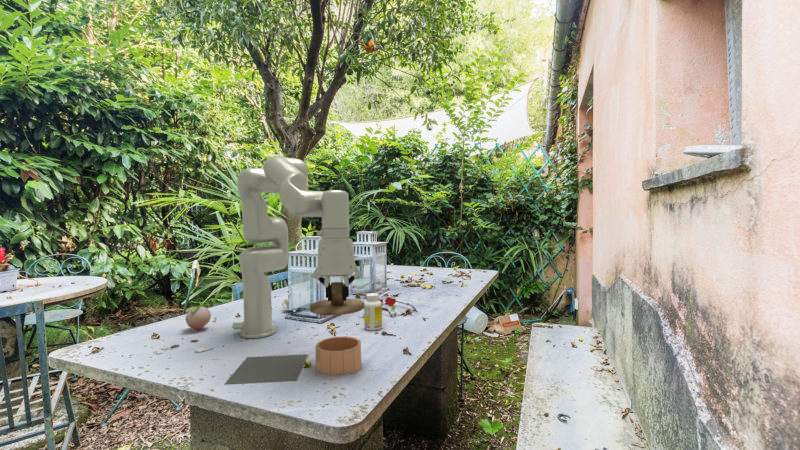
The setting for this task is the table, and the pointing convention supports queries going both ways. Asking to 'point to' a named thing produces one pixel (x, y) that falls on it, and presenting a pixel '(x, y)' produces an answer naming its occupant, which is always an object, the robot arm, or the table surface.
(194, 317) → the decorative fruit
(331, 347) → the bowl
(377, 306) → the supplement bottle
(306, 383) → the table surface
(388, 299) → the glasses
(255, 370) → the mat
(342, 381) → the table surface
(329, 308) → the lid
